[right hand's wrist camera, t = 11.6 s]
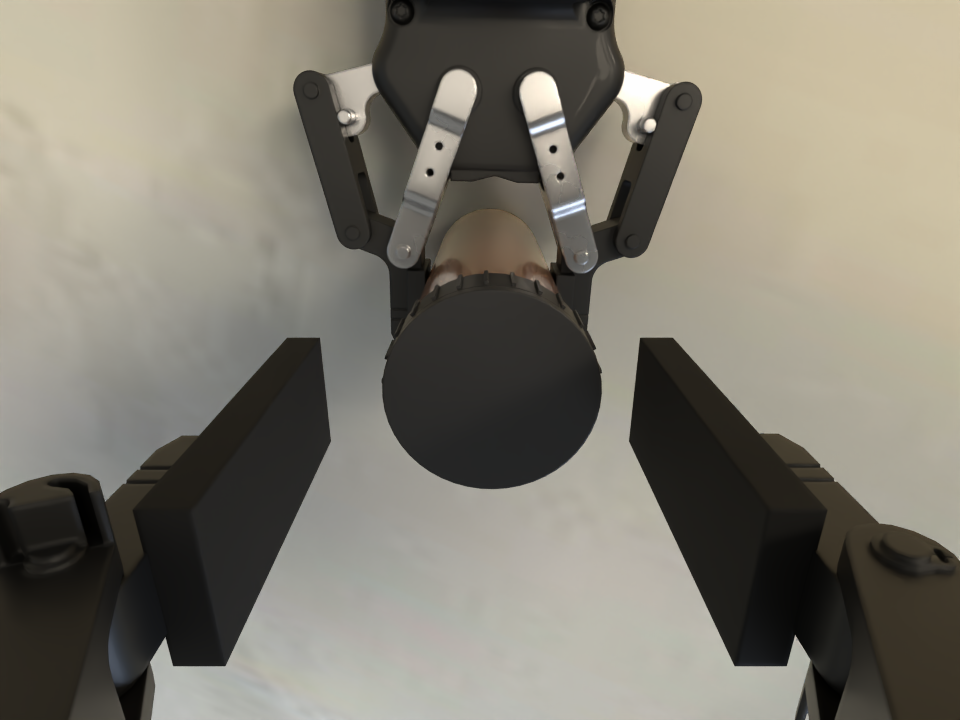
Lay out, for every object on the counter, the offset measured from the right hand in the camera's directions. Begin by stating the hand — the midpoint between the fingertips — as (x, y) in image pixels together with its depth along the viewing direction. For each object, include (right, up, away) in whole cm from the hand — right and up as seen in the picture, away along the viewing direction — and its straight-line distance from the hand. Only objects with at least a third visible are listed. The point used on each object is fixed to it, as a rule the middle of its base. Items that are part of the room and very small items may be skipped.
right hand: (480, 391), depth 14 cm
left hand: (0, +1, +10) cm, 10 cm away
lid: (0, 0, 0) cm, 1 cm away
